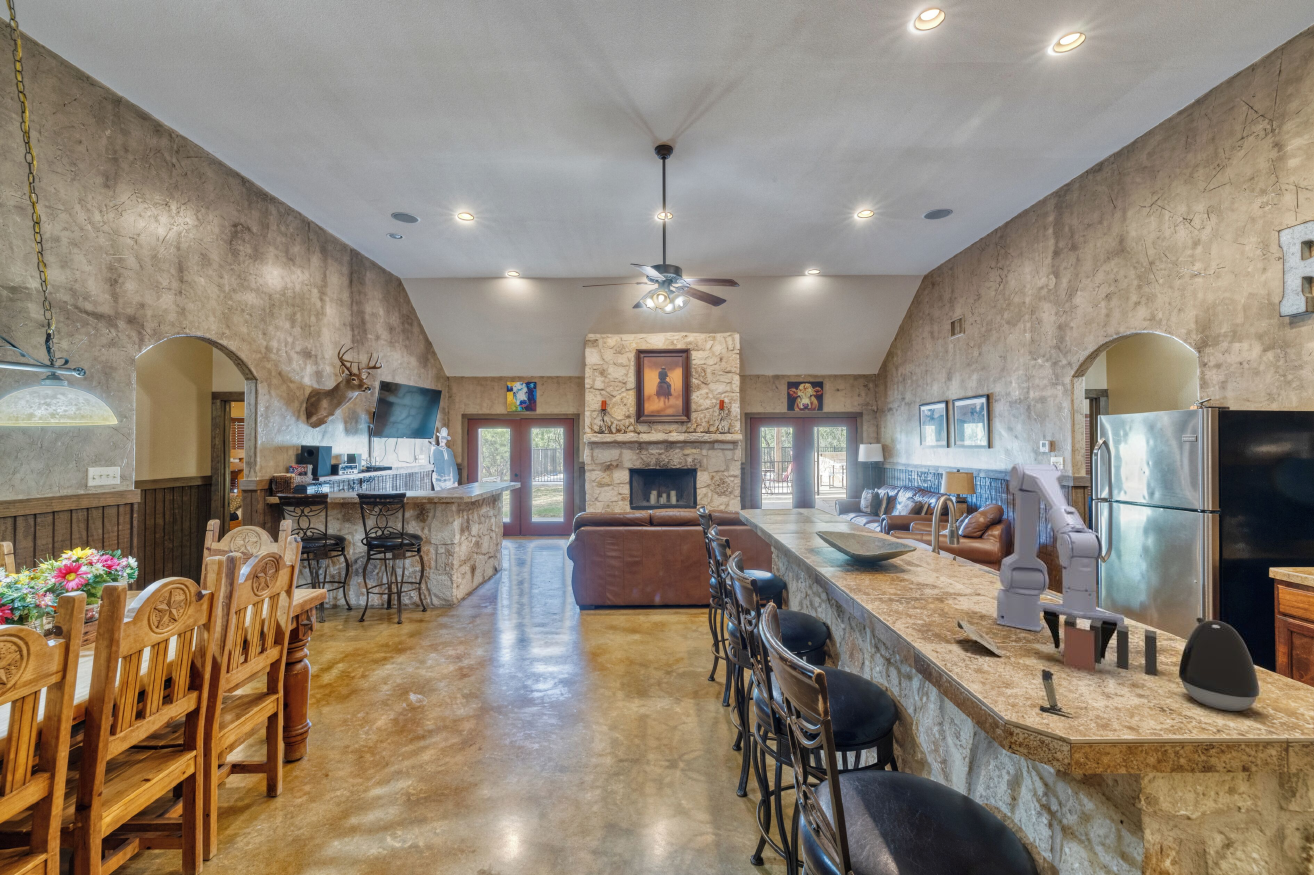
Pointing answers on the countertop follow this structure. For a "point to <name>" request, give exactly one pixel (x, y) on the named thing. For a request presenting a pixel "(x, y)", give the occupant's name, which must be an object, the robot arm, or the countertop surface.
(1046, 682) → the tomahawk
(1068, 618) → the domino
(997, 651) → the wooden slab
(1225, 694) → the black and grey speaker
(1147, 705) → the countertop surface
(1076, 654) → the loose domino
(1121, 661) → the domino
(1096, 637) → the domino
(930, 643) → the countertop surface
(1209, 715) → the countertop surface
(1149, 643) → the domino
